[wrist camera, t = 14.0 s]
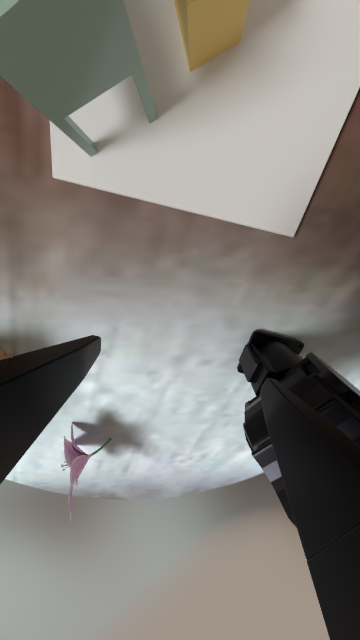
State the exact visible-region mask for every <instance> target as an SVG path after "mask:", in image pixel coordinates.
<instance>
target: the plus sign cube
mask: <svg viewBox="0 0 360 640" xmlns="http://www.w3.org/2000/svg"><path fill="white" fill-rule="evenodd" d="M248 4H249V0H174V5H175V9H176V14H177V18H178V22H179V27H180V31H181V36H182V40H183V45H184V49H185V54H186V58H187V62H188V67H189V71H190V72H191V71H193V70H195V69H196V68H198V67H200V66H201V65H203V64H205V63H206V62H208V61H210V60H211V59H213V58H215V57H217V56H218V55H220V54H222V53H223V52H225V51H227V50H228V49H230V48H232V47H233V46H235V45H237V44H239V43H240V42H241V37H242V32H243V28H244V23H245V18H246V13H247V9H248Z"/></svg>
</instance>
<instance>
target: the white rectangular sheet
mask: <svg viewBox="0 0 360 640" xmlns="http://www.w3.org/2000/svg"><path fill="white" fill-rule="evenodd" d="M123 1H124V4H125V8H126V11H127V15H128V18H129V21H130V25H131V28H132V32H133V35H134V39H135V42H136V45H137V49H138V52H139V56H140V59H141V63H142V66H143V70H144V73H145V76H146V80H147V83H148V87H149V90H150V94H151V97H152V100H153V104H154V107H155V111H156V114H157V118H158V119H157V120H155V121H154V122H152V123H149V121H148V118H147V115H146V113H145V110H144V107H143V104H142V102H141V99H140V96H139V93H138V91H137V88H136V85H135V83H134V80H133V77H132V75H131V76H129V77H128V78H126V79H125V80H123V81H121V82H120V83H118V84H117V85H115V86H114V87H112V88H111V89H109V90H107V91H106V92H104V93H103V94H101V95H100V96H98V97H97V98H95V99H93V100H92V101H90V102H89V103H87V104H86V105H84V106H83V107H81V108H80V109H78V110H76V111H75V112H73V113H72V114H70V115H69V117H70V118H71V119H72V120H73V121H74V122H75V123H76V124H77V125H78V126H79V128H80V129H81V130H82V131H83V132H84V133H85V134H86V135H87V136H88V137H89V138H90V139H91V140H92V141H93V142H94V145H95V147H96V149H97V152H98V153H97V154H95V155H93V156H92V157H90V156H89V155H88V154H87V153H86V152H85V151H84V150H83V149H81V148H80V147H79V146H78V145H77V144H76V143H75V142H74V141H72V140H71V139H70V138H69V137H68V136H67V135H66V134H65V133H64V132H62V131H61V130H60V129H59V128H58V127H57V126H56V125H55V124H53V123H52V122H51V121H50V134H51V153H52V171H53V178H55V179H59V180H63V181H67V182H71V183H75V184H79V185H83V186H87V187H91V188H95V189H99V190H103V191H107V192H111V193H115V194H119V195H123V196H127V197H131V198H135V199H139V200H143V201H147V202H151V203H155V204H159V205H163V206H167V207H171V208H175V209H179V210H183V211H187V212H191V213H195V214H199V215H203V216H207V217H211V218H216V219H220V220H224V221H228V222H232V223H236V224H240V225H244V226H248V227H252V228H256V229H260V230H264V231H268V232H272V233H276V234H280V235H284V236H288V237H294V235H295V233H296V230H297V228H298V226H299V224H300V221H301V219H302V217H303V214H304V212H305V210H306V208H307V205H308V203H309V201H310V199H311V196H312V194H313V192H314V190H315V187H316V185H317V183H318V180H319V178H320V176H321V174H322V171H323V169H324V167H325V165H326V162H327V160H328V158H329V156H330V153H331V151H332V149H333V146H334V144H335V142H336V140H337V137H338V135H339V133H340V131H341V128H342V126H343V124H344V122H345V119H346V117H347V115H348V113H349V110H350V108H351V106H352V103H353V101H354V99H355V97H356V94H357V92H358V90H359V88H360V0H249V4H248V9H247V13H246V18H245V23H244V28H243V32H242V37H241V42H240V43H239V44H237V45H235V46H233V47H232V48H230V49H228V50H227V51H225V52H223V53H222V54H220V55H218V56H217V57H215V58H213V59H211V60H210V61H208V62H206V63H205V64H203V65H201V66H200V67H198V68H196V69H195V70H193V71H191V72H190V71H189V67H188V62H187V58H186V54H185V49H184V45H183V40H182V36H181V31H180V27H179V22H178V18H177V14H176V9H175V5H174V0H123Z"/></svg>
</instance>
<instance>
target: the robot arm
mask: <svg viewBox="0 0 360 640" xmlns="http://www.w3.org/2000/svg"><path fill="white" fill-rule="evenodd" d="M256 334H258V335H257V336H255V335H256ZM299 344H300V345H299ZM298 345H299V346H298ZM303 347H304V344H303V343H302V342H301V341H298V340H294V339H290V338H286V337H282V336H278V335H273V334H269V333H265V332H261V331H254V332H253V333H252V335H251V337H250V340H249V342H248V344H247V345H245V347H244V350H243V352H242V354H241V356H240V359H239V361H240V362H239V364H238V367H237V370H238V372H240V373H244V374H245V377H246V379H247V381H248V382H251V385H252V387H253V389H254V392H255V394H256V397H255V398H253V399H252V400H251V401H248V402H246V403H245V412H244V413H245V423H244V424H243V427H244V431H245V436H246V440H247V442H248V445H249V447H250V449H251V451H252V456H253V457H254V458H255V460H256V461H257V462H258V464H259V465H260V466H261V468H262V469H263V471H264V472H265V474H266V475H267V477H268V479H269V480H270V482H271V483H272V485H273V487H274V489H275V491H276V493H277V495H278V497H279V499H280V501H281V503H282V506H283V508H284V510H285V512H286V514H287V516H288V518H289V519H290V520H291V522H292V523H293V524H294V525H295V526H296V527H297V529H298V533H299V536H300V540H301V543H302V546H303V549H304V553H305V556H306V559H307V563H308V567H309V570H310V574H311V577H312V580H313V584H314V587H315V590H316V593H317V597H318V600H319V604H320V607H321V610H322V614H323V617H324V621H325V624H326V627H327V631H328V634H329V637H330V640H360V391H359V390H358V389H357V388H356V387H355V386H353V385H352V384H351V383H350V382H349V381H348V380H346V379H345V378H344V377H343V376H341V375H340V374H339V373H337V372H336V371H335V370H334V369H332V368H331V367H330V366H328V365H327V364H326V363H325V362H323V361H322V360H321V359H319V358H318V357H317V356H316V355H314V354H313V353H312V352H310V353H309V354H308V355H306V356H307V357H306V358H304V359H302V358H301V357H300V356H299V354H300V352H301V350H302V349H303ZM100 351H101V338H100V337H99V336H95V335H91V336H88V337H84V338H80V339H76V340H73V341H69V342H65V343H61V344H58V345H54V346H50V347H47V348H43V349H39V350H35V351H32V352H28V353H24V354H21V355H17V356H13V357H9V358H6V359H2V360H0V484H1V483H2V481H3V480H4V479H5V478H6V476H7V475H8V474H9V473H10V471H11V470H12V469H13V468H14V466H15V465H16V464H17V463H18V461H19V460H20V459H21V458H22V456H23V455H24V454H25V452H26V451H27V450H28V449H29V447H30V446H31V445H32V444H33V442H34V441H35V440H36V439H37V437H38V436H39V435H40V434H41V432H42V431H43V430H44V428H45V427H46V426H47V425H48V423H49V422H50V421H51V420H52V418H53V417H54V416H55V415H56V413H57V412H58V411H59V410H60V408H61V407H62V406H63V404H64V403H65V402H66V401H67V399H68V398H69V397H70V396H71V394H72V393H73V392H74V391H75V389H76V388H77V387H78V386H79V384H80V383H81V382H82V380H83V379H84V378H85V376H86V375H87V373H88V371H89V370H90V368H91V367H92V365H93V364H94V362H95V360H96V359H97V357H98V356H99V354H100ZM241 368H242V369H241Z"/></svg>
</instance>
